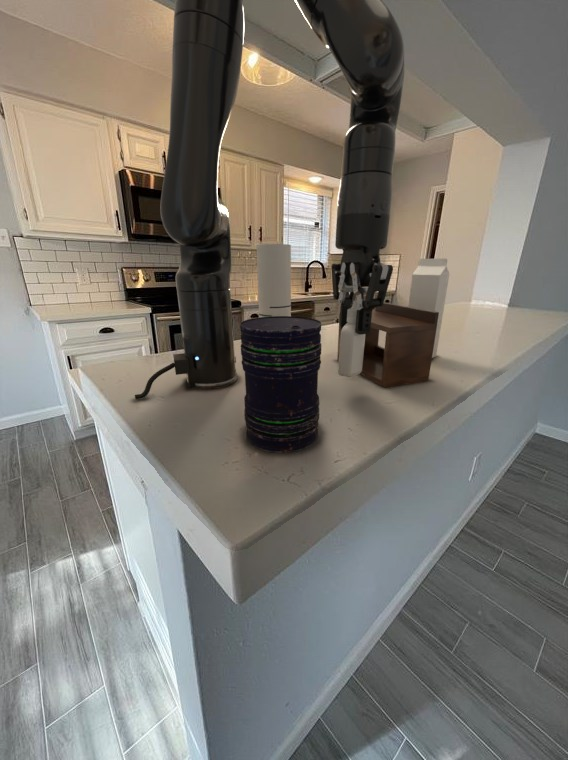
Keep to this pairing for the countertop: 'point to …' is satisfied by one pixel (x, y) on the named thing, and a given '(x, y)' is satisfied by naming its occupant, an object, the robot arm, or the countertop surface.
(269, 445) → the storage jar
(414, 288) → the milk
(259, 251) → the cylindrical container
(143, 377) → the countertop surface
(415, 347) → the spice rack
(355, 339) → the eye dropper bottle
